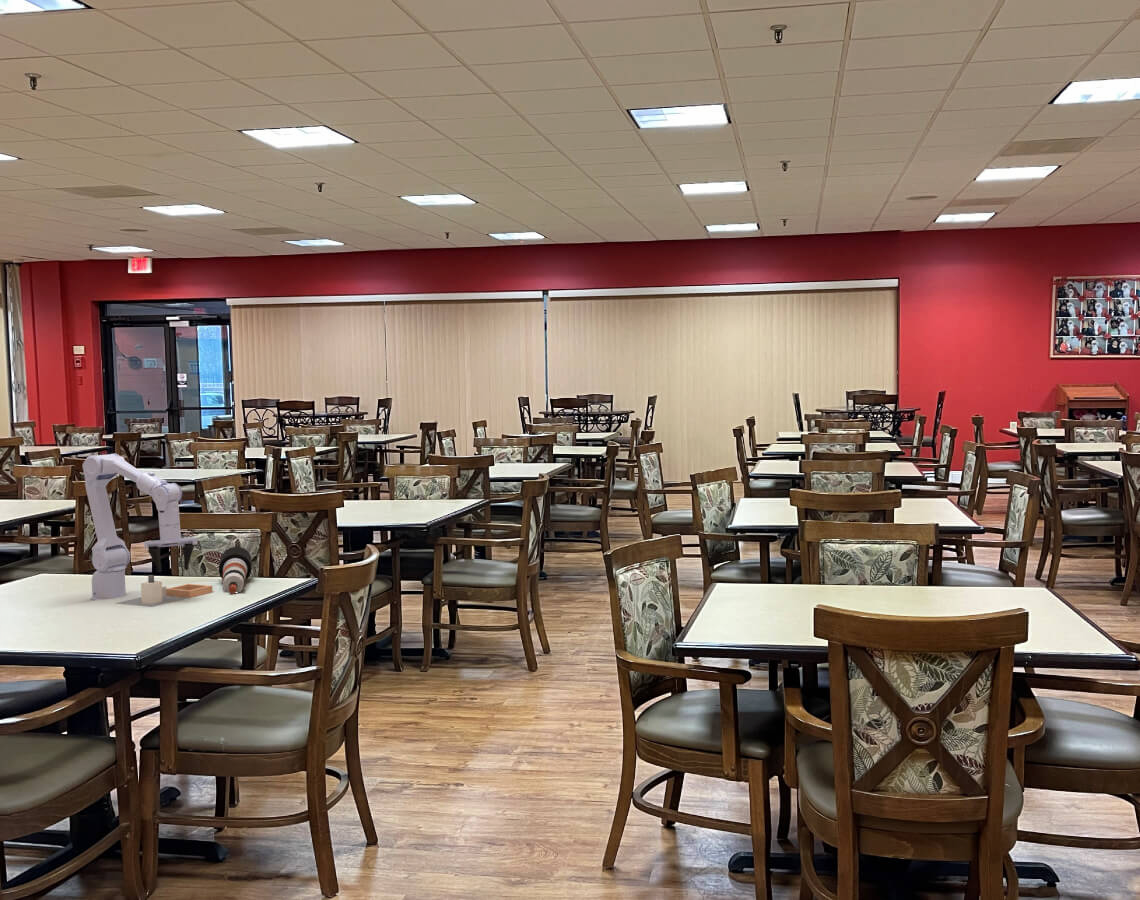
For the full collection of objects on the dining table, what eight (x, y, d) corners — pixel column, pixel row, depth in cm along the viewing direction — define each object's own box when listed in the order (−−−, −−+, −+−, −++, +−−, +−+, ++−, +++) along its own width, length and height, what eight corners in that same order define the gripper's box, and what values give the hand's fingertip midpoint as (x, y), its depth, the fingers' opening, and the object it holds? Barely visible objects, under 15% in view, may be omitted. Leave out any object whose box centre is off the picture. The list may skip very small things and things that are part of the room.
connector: (141, 603, 299) (140, 576, 299) (152, 600, 303) (151, 574, 302) (151, 604, 298) (150, 577, 297) (162, 601, 301) (161, 574, 301)
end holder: (165, 595, 311) (165, 588, 311) (188, 590, 319) (188, 583, 319) (189, 597, 306) (189, 591, 306) (212, 592, 315) (212, 585, 314)
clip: (146, 597, 309) (146, 587, 309) (154, 595, 312) (154, 585, 311) (158, 598, 307) (158, 588, 306) (166, 596, 309) (166, 586, 309)
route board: (115, 606, 301) (115, 603, 301) (179, 591, 322) (179, 588, 322) (152, 610, 294) (152, 606, 294) (215, 594, 315) (214, 591, 315)
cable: (226, 612, 311) (208, 584, 308) (230, 581, 343) (214, 556, 341) (256, 595, 313) (239, 567, 310) (257, 566, 345) (242, 541, 342)
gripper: (140, 528, 297) (144, 574, 298) (192, 524, 300) (196, 570, 300) (146, 525, 304) (149, 571, 305) (197, 521, 307) (200, 567, 307)
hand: (173, 570), depth 303 cm, fingers open, 7 cm apart
